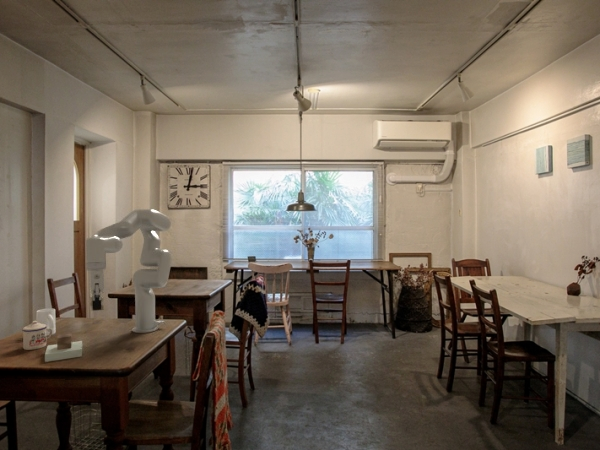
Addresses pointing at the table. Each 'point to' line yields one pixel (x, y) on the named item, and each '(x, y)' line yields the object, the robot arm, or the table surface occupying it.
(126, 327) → the table surface
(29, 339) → the teacup with lid
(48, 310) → the mug
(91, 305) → the ash block
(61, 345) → the walnut block
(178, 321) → the table surface
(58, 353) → the base board
